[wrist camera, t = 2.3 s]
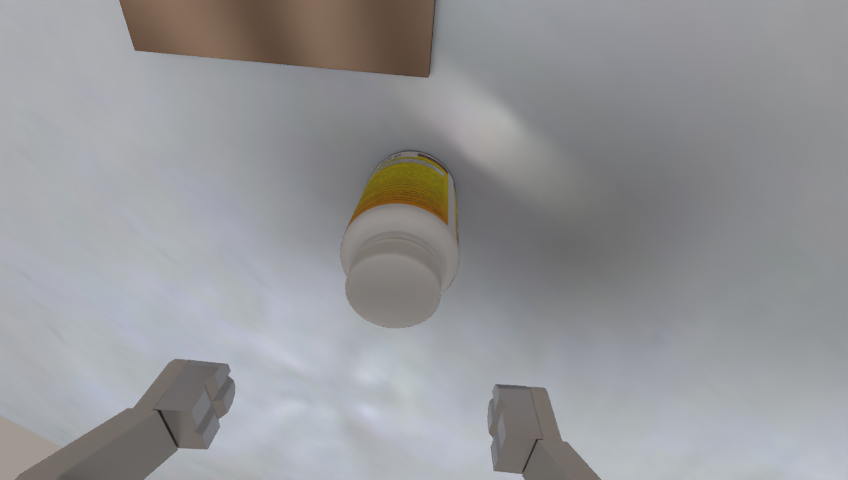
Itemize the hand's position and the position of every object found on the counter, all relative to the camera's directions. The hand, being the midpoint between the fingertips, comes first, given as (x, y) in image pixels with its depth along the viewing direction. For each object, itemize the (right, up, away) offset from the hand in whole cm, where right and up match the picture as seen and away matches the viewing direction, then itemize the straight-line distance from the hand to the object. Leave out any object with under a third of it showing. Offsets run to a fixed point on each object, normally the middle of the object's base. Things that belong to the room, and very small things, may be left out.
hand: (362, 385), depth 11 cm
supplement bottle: (+1, +8, +12) cm, 15 cm away
